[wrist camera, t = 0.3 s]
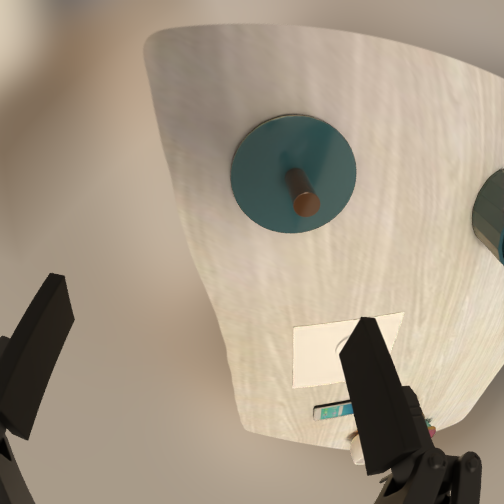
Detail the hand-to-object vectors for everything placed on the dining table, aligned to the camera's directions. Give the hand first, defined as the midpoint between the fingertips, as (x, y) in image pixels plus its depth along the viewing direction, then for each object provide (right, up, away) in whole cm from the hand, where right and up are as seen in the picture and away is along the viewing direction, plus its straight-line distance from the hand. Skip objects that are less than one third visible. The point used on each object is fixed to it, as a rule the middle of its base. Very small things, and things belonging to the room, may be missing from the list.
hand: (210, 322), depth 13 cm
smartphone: (+24, -35, +56) cm, 70 cm away
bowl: (+42, +10, +25) cm, 50 cm away
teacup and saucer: (+19, -16, +43) cm, 50 cm away
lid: (+7, +12, +22) cm, 26 cm away
